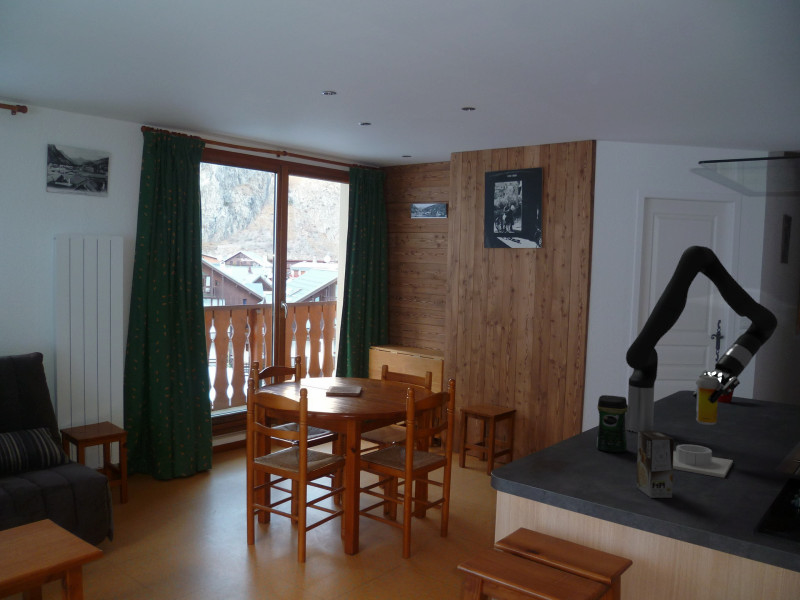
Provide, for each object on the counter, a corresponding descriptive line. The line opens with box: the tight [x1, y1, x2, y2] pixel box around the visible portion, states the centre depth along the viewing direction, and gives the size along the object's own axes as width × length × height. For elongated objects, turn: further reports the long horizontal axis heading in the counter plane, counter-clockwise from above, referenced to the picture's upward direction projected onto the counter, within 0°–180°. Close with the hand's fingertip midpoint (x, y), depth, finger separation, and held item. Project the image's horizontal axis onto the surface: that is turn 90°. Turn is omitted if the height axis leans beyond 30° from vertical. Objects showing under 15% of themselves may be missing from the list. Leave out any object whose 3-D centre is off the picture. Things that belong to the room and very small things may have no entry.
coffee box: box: [636, 430, 675, 499], centre depth 175 cm, size 9×6×16 cm
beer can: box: [695, 375, 719, 426], centre depth 206 cm, size 6×6×15 cm
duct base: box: [673, 444, 733, 479], centre depth 202 cm, size 20×18×5 cm
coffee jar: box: [596, 394, 628, 453], centre depth 217 cm, size 10×8×19 cm
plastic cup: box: [718, 377, 739, 404], centre depth 304 cm, size 11×11×12 cm
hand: (702, 399), depth 205 cm, fingers closed on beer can, 6 cm apart
